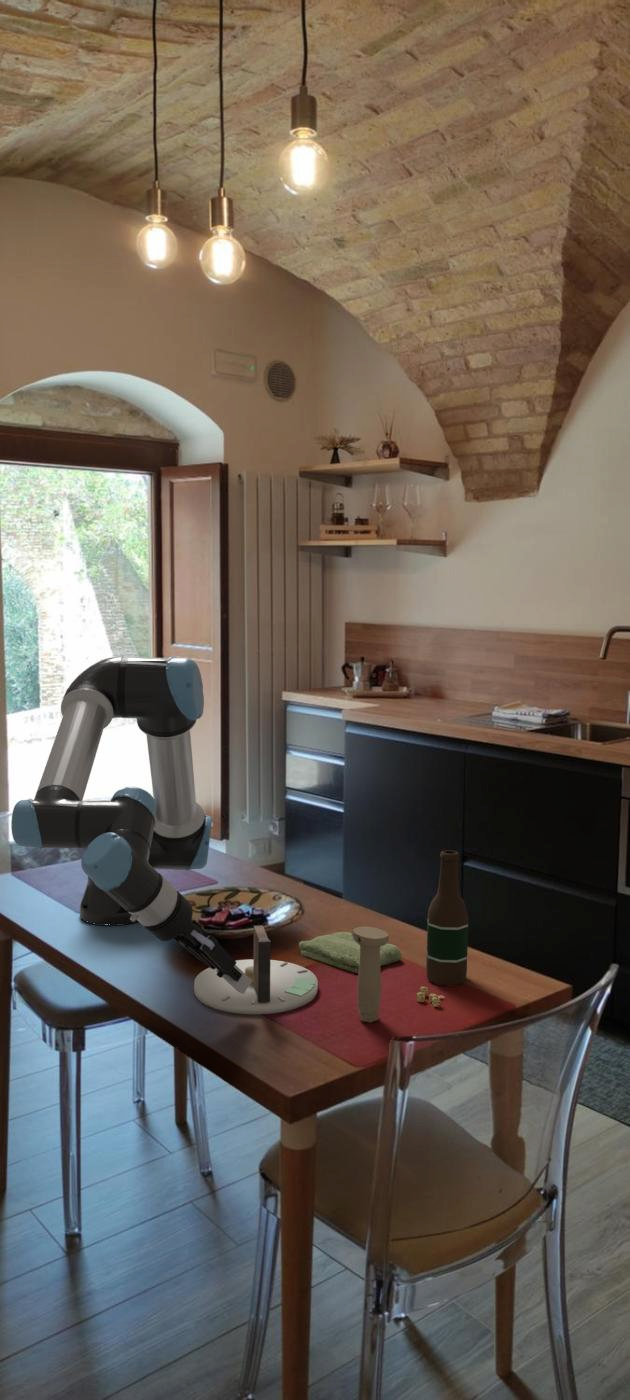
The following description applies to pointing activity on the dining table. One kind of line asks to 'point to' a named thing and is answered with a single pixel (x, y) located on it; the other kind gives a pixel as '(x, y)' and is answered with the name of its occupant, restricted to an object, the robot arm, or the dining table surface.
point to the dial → (286, 991)
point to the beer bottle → (447, 927)
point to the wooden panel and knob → (260, 965)
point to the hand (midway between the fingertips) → (245, 986)
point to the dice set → (432, 996)
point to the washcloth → (344, 951)
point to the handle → (369, 971)
